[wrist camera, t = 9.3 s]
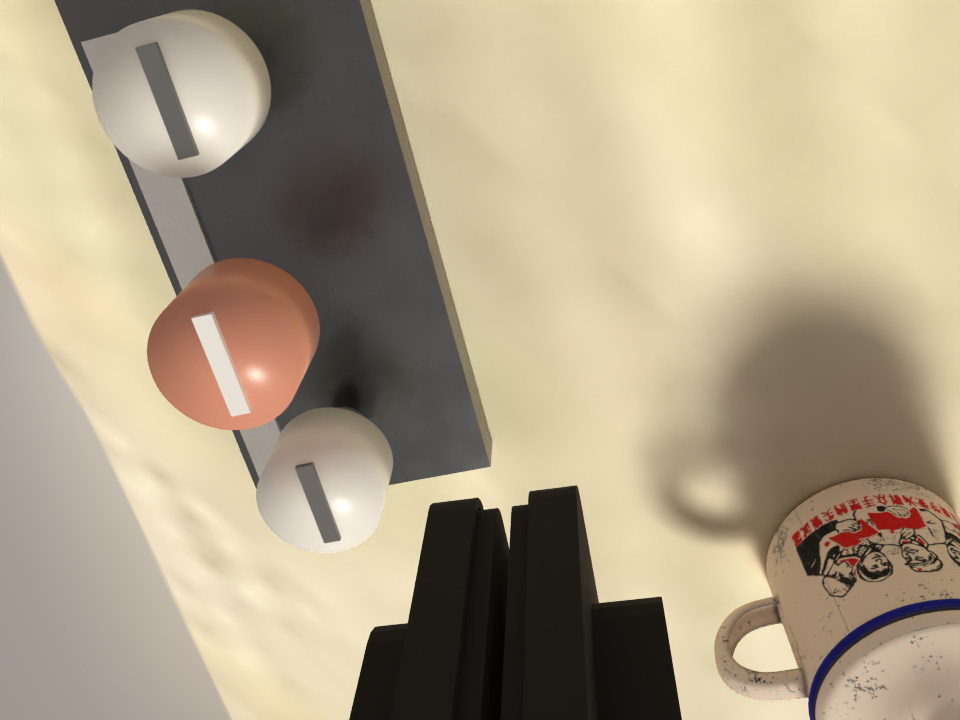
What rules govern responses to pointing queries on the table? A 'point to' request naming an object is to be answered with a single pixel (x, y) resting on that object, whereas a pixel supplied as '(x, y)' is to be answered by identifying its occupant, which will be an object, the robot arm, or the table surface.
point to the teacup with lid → (860, 606)
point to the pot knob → (234, 344)
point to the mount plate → (323, 226)
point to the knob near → (181, 92)
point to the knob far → (326, 480)
